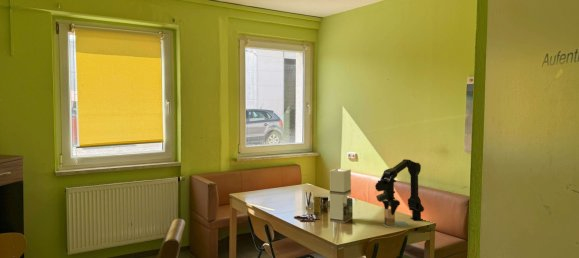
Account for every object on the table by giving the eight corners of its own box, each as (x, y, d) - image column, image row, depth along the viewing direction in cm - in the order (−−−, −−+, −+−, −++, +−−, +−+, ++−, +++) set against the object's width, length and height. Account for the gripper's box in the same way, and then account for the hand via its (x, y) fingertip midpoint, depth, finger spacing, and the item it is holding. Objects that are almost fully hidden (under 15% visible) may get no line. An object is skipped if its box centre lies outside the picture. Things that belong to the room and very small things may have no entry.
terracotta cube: (384, 216, 282) (384, 209, 282) (391, 216, 283) (391, 208, 283) (387, 218, 277) (387, 210, 277) (394, 218, 278) (394, 210, 278)
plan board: (379, 224, 285) (379, 223, 285) (403, 222, 288) (403, 221, 288) (386, 229, 274) (386, 227, 274) (411, 227, 277) (411, 225, 277)
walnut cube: (384, 224, 282) (384, 216, 282) (391, 223, 283) (391, 216, 283) (387, 226, 277) (387, 218, 277) (394, 225, 278) (394, 218, 278)
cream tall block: (344, 223, 290) (343, 171, 288) (330, 221, 295) (329, 170, 293) (351, 219, 299) (350, 169, 298) (337, 217, 305) (336, 168, 303)
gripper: (372, 187, 287) (372, 210, 287) (383, 192, 268) (383, 217, 269) (387, 186, 289) (387, 209, 290) (400, 192, 270) (400, 216, 271)
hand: (389, 213), depth 280 cm, fingers open, 9 cm apart
